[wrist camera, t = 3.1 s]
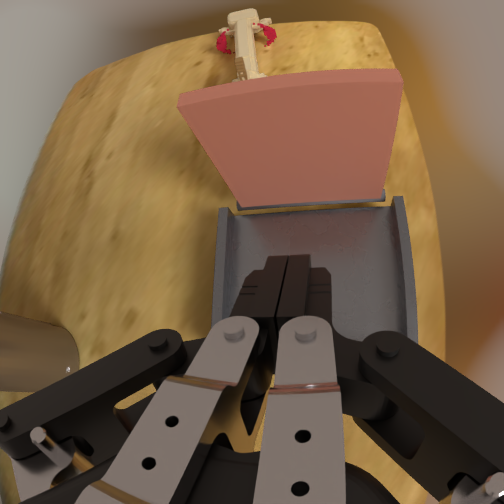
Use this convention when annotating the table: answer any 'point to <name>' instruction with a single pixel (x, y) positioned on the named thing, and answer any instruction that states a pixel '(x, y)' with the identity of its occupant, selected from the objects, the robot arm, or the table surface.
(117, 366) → the robot arm
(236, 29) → the cream blocky figure
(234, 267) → the grey open box
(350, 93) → the flat pink square board
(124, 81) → the table surface
